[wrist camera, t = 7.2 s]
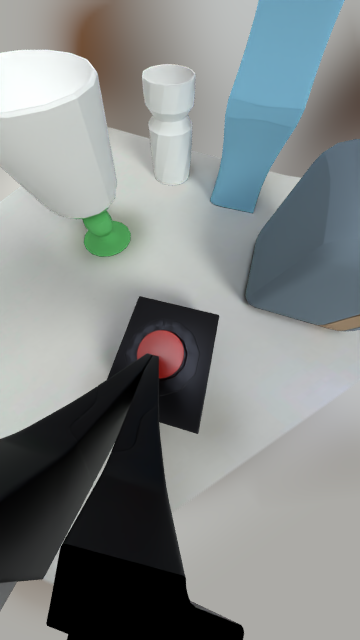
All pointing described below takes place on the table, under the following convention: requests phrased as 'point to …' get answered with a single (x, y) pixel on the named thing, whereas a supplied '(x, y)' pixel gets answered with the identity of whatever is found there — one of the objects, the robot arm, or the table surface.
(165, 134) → the vase
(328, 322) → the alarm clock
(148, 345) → the button
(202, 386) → the control block
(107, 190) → the cup
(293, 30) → the vase
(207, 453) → the table surface
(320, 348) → the table surface
